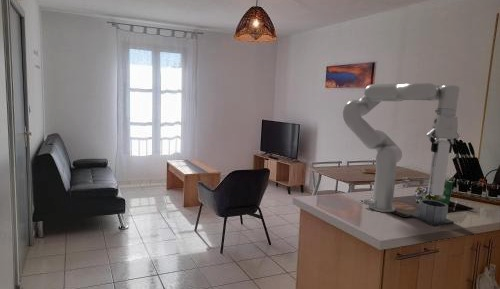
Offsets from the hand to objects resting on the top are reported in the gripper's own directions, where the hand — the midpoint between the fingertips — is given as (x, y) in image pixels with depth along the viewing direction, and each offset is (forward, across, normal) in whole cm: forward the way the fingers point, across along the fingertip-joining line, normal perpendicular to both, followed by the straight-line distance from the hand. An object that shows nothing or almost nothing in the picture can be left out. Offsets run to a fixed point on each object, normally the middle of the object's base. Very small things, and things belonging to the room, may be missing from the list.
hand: (440, 151), depth 164 cm
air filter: (+20, 0, 0) cm, 20 cm away
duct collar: (+32, 0, 0) cm, 32 cm away
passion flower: (+33, +15, +27) cm, 45 cm away
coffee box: (+33, +25, +27) cm, 49 cm away
